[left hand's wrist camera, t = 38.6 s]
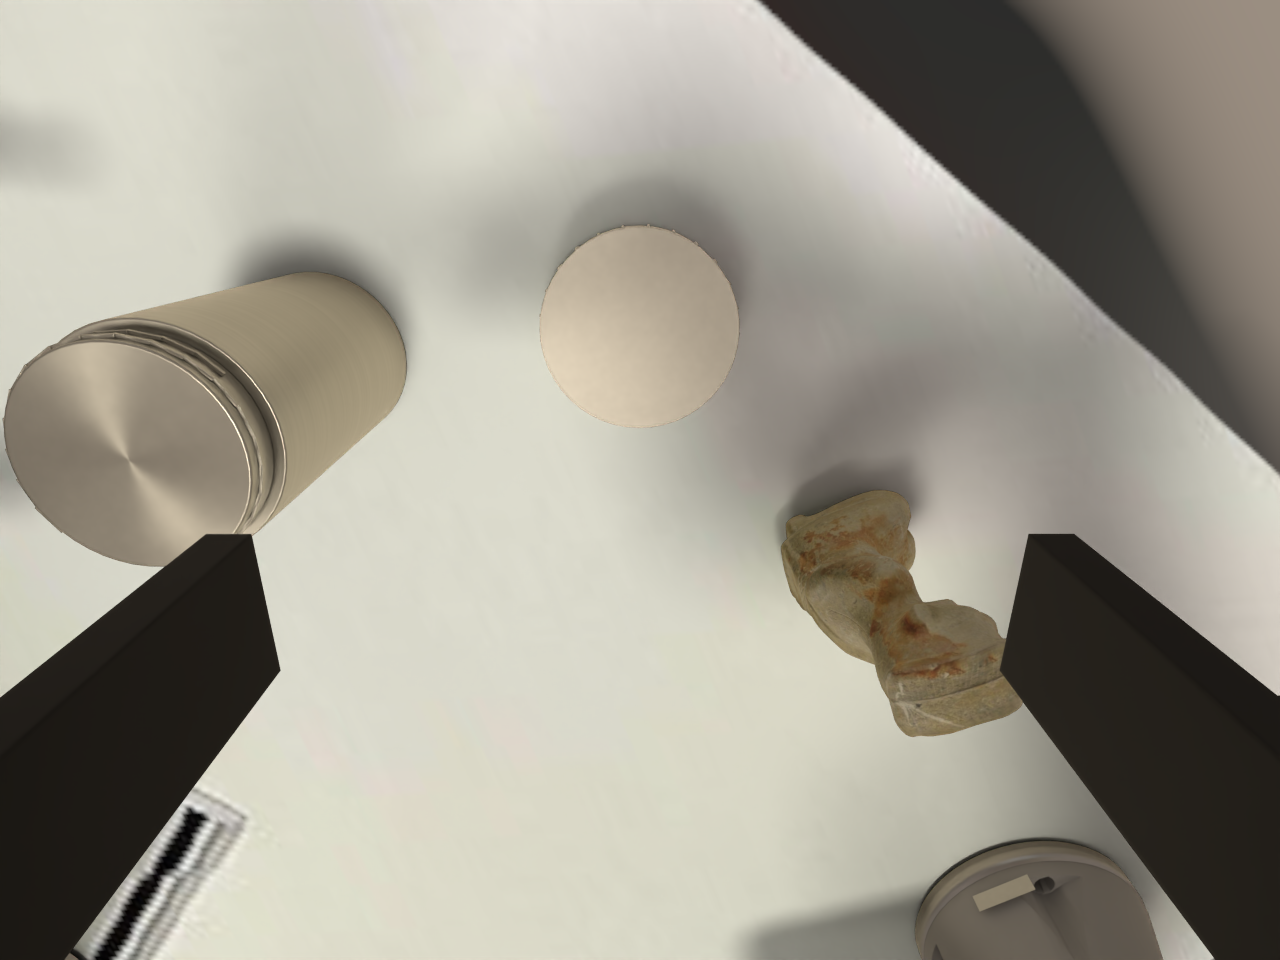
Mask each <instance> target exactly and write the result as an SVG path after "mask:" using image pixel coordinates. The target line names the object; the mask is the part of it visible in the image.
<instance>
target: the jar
mask: <svg viewBox="0 0 1280 960" xmlns="http://www.w3.org/2000/svg"><path fill="white" fill-rule="evenodd" d="M405 378H406V355H405V350H404V345H403V341H402V339H401V336H400V333H399V331H398V329H397V327H396V325H395V323H394V321H393V320H392V318H391V317H390V315H389V314H388V312H387V311H386V310H385V309H384V308H383V306H382V305H381V304H380V303H379V302H378V301H377V300H376V299H375V298H374V297H373V296H372V295H370V294H369V293H368V292H366V291H365V290H364V289H362V288H361V287H359V286H357V285H356V284H354V283H352V282H350V281H348V280H346V279H343V278H341V277H338V276H334V275H331V274H327V273H320V272H300V273H293V274H289V275H285V276H281V277H277V278H272V279H268V280H264V281H260V282H256V283H252V284H248V285H244V286H240V287H236V288H231V289H227V290H223V291H219V292H215V293H211V294H207V295H203V296H199V297H195V298H191V299H186V300H182V301H178V302H174V303H170V304H166V305H162V306H158V307H154V308H150V309H145V310H141V311H137V312H133V313H129V314H125V315H121V316H117V317H113V318H109V319H105V320H101V321H97V322H94V323H90V324H88V325H85V326H83V327H81V328H79V329H77V330H74V331H73V332H72V333H70V334H69V335H67V336H66V337H64V338H63V339H61V340H60V341H59V342H58V343H57V344H54V345H51V346H48V347H47V348H46V349H44V350H43V351H42V352H41V353H40V354H38V355H37V356H36V357H35V358H33V359H32V360H31V361H30V362H29V363H27V364H25V365H24V367H23V369H22V370H21V372H20V374H19V376H18V377H17V379H16V381H15V382H14V384H13V386H12V388H11V389H9V393H8V399H7V404H6V408H5V416H4V418H3V425H4V437H5V443H6V449H5V450H6V452H7V455H8V457H9V459H10V462H11V465H12V468H13V470H14V472H15V474H16V476H17V481H18V483H19V484H20V486H21V487H22V488H23V490H24V491H25V493H26V494H27V495H28V497H29V498H30V500H31V501H32V502H33V504H34V505H35V509H36V510H37V511H38V512H39V513H41V514H42V515H43V516H44V517H45V518H46V519H47V520H48V521H49V522H50V523H51V524H52V525H54V526H55V527H56V528H57V529H58V530H59V531H60V532H61V533H62V532H63V533H65V534H66V535H67V536H69V537H70V538H72V539H73V540H74V541H76V542H78V543H80V544H81V545H83V546H85V547H86V548H88V549H90V550H92V551H95V552H97V553H99V554H101V555H103V556H106V557H109V558H112V559H115V560H118V561H122V562H126V563H130V564H135V565H143V566H166V565H168V564H169V563H170V562H171V561H173V560H174V559H175V558H176V557H178V556H179V555H180V554H181V553H183V552H184V551H185V550H186V549H188V548H189V547H190V546H191V545H193V544H194V543H195V542H197V541H198V540H199V539H200V538H202V537H203V536H204V535H205V534H251V535H252V536H253V535H254V534H255V533H257V532H258V531H259V530H260V529H261V528H263V527H264V526H265V525H266V524H267V523H268V522H269V521H270V520H272V519H273V518H274V517H275V516H276V515H277V514H278V513H279V512H280V511H282V510H283V509H284V508H285V507H286V506H287V505H288V504H289V503H290V502H292V501H293V500H294V499H295V498H296V497H297V496H298V495H299V494H300V493H302V492H303V491H304V490H305V489H306V488H307V487H308V486H309V485H310V484H312V483H313V482H314V481H315V480H316V479H317V478H318V477H319V476H321V475H322V474H323V473H324V472H325V471H326V470H327V469H328V468H329V467H331V466H332V465H333V464H334V463H335V462H336V461H337V460H338V459H339V458H341V457H342V456H343V455H344V454H345V453H346V452H347V451H348V450H349V449H351V448H352V447H353V446H354V445H355V444H356V443H357V442H358V441H360V440H361V439H362V438H363V437H364V436H365V435H366V434H367V433H368V432H370V431H371V430H372V429H373V428H374V427H375V426H376V425H377V424H378V423H380V422H381V421H382V420H383V419H384V418H385V417H386V416H387V415H388V414H389V413H390V412H391V411H392V409H393V408H394V406H395V405H396V403H397V402H398V400H399V398H400V396H401V393H402V390H403V387H404V384H405Z"/></svg>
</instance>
